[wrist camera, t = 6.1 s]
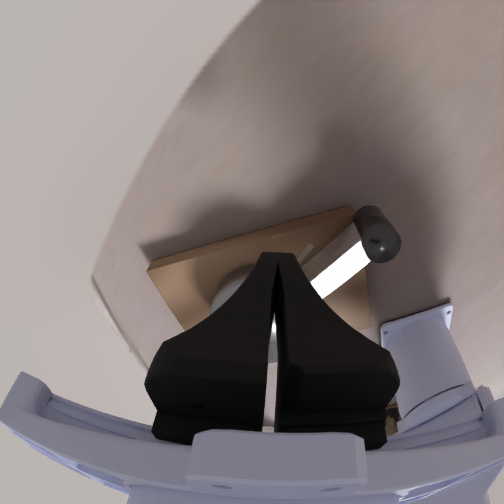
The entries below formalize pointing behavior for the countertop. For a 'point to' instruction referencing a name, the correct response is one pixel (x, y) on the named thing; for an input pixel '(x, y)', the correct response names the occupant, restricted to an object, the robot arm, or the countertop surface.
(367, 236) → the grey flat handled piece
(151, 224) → the countertop surface
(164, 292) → the wooden board
